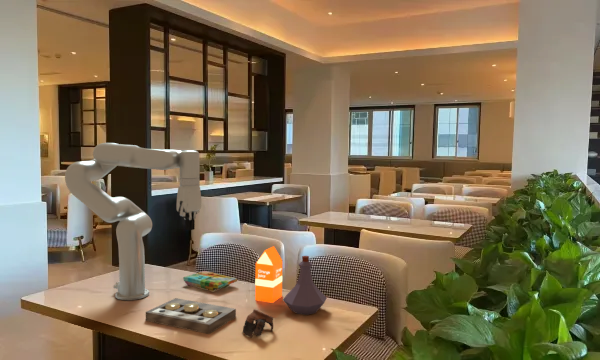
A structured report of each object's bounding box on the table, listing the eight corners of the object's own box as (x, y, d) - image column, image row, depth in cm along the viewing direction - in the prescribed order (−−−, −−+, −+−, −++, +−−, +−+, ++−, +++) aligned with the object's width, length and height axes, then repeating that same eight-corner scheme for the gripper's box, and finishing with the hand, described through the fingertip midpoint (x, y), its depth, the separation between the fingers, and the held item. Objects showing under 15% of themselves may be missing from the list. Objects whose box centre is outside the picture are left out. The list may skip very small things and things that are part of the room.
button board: (145, 320, 160) (145, 311, 160) (175, 305, 175) (175, 297, 175) (209, 333, 150) (209, 323, 149) (235, 317, 164) (235, 307, 164)
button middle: (180, 313, 161) (180, 307, 161) (189, 308, 165) (189, 302, 165) (192, 315, 159) (192, 309, 159) (201, 310, 163) (201, 304, 163)
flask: (299, 299, 184) (300, 249, 182) (335, 308, 174) (336, 255, 172) (273, 311, 170) (273, 257, 169) (310, 322, 161) (311, 264, 159)
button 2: (200, 319, 158) (200, 313, 157) (208, 315, 162) (208, 308, 162) (212, 322, 156) (212, 315, 155) (220, 317, 160) (220, 311, 160)
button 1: (162, 312, 164) (162, 306, 164) (171, 307, 169) (171, 302, 168) (173, 314, 162) (173, 308, 162) (182, 310, 167) (182, 304, 166)
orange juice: (254, 300, 182) (255, 249, 181) (265, 293, 190) (265, 245, 189) (273, 303, 179) (273, 251, 178) (282, 296, 187) (283, 246, 186)
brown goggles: (238, 330, 154) (248, 306, 156) (264, 341, 156) (274, 317, 158) (243, 335, 143) (254, 309, 145) (271, 347, 144) (282, 321, 146)
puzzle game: (203, 269, 210) (237, 276, 199) (203, 279, 210) (237, 287, 199) (183, 275, 200) (218, 283, 189) (183, 285, 200) (218, 294, 189)
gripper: (193, 180, 189) (193, 225, 191) (169, 183, 175) (169, 231, 177) (209, 181, 186) (209, 227, 187) (185, 184, 172) (185, 233, 174)
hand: (189, 229), depth 182 cm, fingers closed
